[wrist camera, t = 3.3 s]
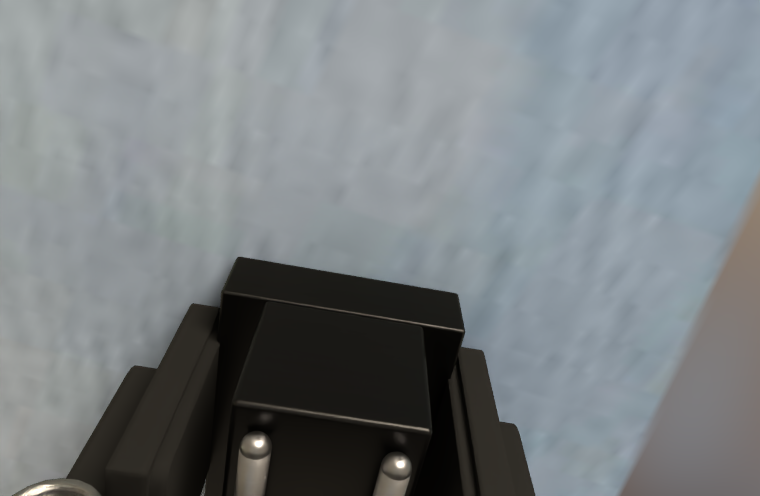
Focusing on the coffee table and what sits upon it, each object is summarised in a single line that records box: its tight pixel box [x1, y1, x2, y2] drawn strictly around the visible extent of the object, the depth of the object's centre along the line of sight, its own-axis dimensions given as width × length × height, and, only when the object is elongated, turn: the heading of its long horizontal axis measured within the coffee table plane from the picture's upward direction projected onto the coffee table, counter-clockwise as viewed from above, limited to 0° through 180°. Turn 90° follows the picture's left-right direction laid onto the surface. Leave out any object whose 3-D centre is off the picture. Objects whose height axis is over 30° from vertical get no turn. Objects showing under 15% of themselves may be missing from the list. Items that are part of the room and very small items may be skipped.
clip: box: [205, 257, 465, 496], centre depth 10 cm, size 5×4×4 cm
